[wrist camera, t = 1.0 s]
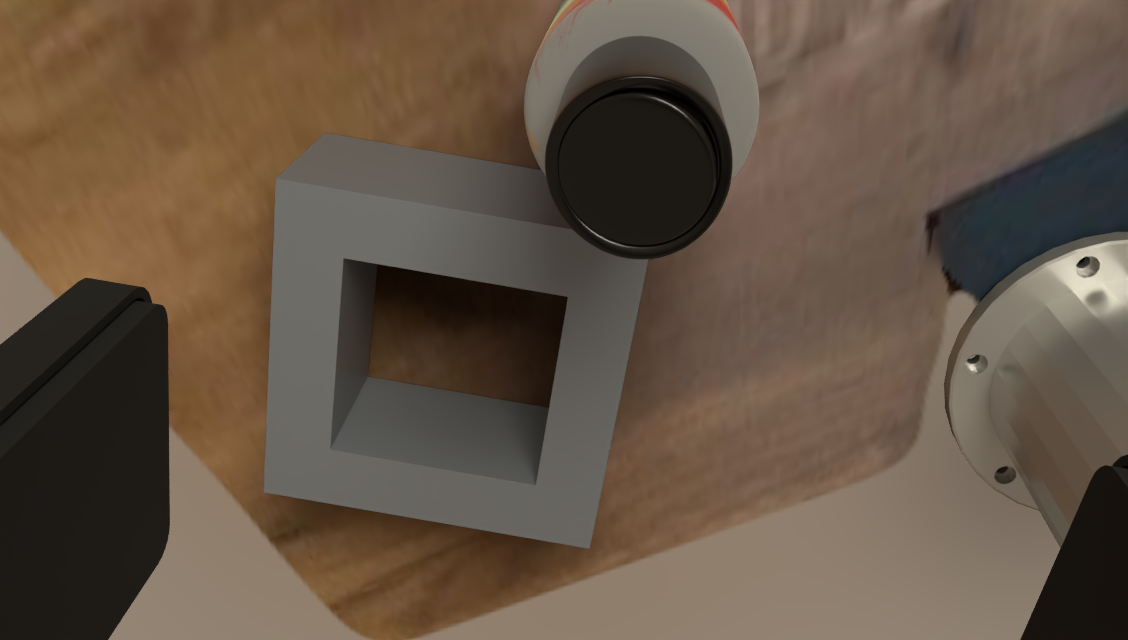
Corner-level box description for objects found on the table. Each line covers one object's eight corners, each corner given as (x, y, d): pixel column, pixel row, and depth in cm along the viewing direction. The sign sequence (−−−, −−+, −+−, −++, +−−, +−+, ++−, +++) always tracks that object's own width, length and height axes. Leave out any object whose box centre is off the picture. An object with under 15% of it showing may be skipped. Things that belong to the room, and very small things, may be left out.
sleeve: (651, 189, 42) (651, 243, 36) (596, 465, 47) (589, 548, 42) (325, 132, 42) (276, 178, 36) (308, 415, 47) (263, 492, 42)
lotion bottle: (737, 69, 39) (809, 274, 21) (589, 108, 41) (539, 334, 22) (704, -88, 37) (752, -9, 19) (549, -44, 38) (455, 72, 20)
